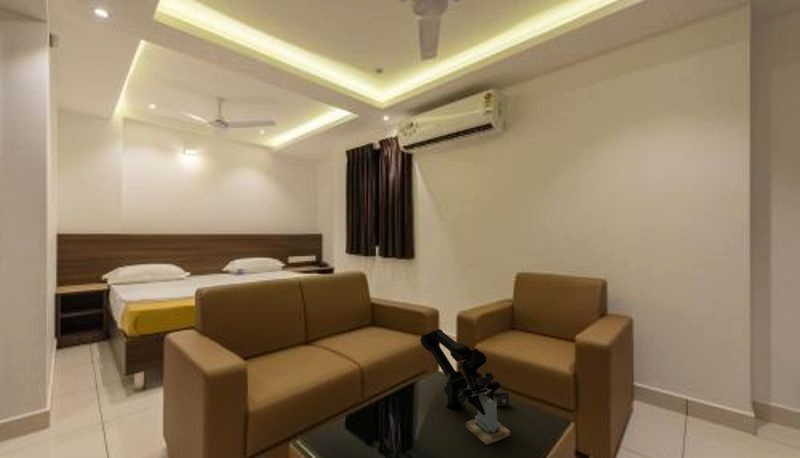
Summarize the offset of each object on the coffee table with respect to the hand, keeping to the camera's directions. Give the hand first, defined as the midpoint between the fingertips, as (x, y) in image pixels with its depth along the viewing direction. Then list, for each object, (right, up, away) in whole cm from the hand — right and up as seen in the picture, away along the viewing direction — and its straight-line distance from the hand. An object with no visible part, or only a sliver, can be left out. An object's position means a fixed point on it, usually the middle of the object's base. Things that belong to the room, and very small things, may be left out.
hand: (489, 413), depth 139 cm
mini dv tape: (+10, -7, +21) cm, 24 cm away
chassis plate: (0, -8, +2) cm, 8 cm away
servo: (0, -7, +2) cm, 7 cm away
